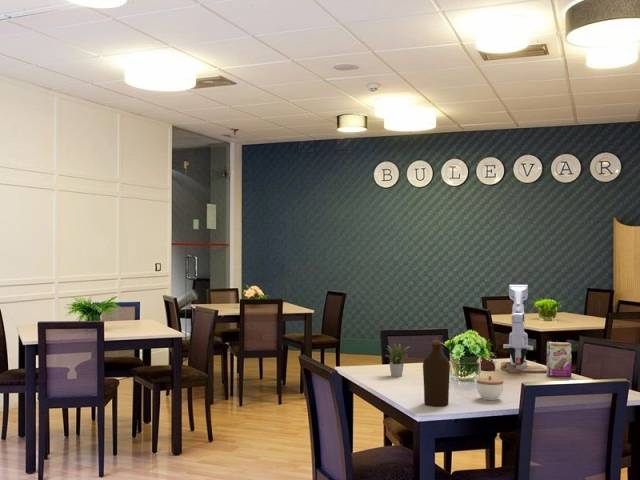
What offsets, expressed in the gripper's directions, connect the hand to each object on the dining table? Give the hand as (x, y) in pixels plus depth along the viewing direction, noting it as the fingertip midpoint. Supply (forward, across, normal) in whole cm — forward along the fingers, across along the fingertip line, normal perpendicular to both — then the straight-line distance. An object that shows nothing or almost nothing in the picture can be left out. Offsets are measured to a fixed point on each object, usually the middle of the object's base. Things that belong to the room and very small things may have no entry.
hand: (518, 363), depth 357 cm
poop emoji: (+5, -16, +2) cm, 17 cm away
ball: (+1, -10, +5) cm, 11 cm away
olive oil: (+5, -9, -95) cm, 96 cm away
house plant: (+5, -48, -42) cm, 64 cm away
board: (+5, +1, +8) cm, 9 cm away
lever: (+3, -1, +7) cm, 8 cm away
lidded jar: (+5, +6, -74) cm, 74 cm away
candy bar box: (+5, +20, 0) cm, 21 cm away
